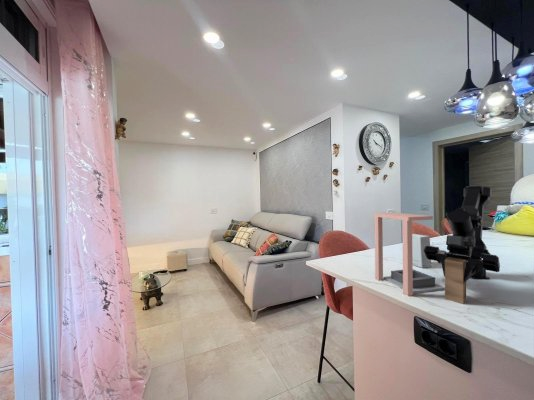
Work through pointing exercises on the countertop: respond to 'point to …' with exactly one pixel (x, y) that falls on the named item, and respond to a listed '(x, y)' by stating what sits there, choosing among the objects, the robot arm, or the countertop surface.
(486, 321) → the countertop surface
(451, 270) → the walnut peg
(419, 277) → the socket
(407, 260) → the pink arch frame
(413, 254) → the skincare box
